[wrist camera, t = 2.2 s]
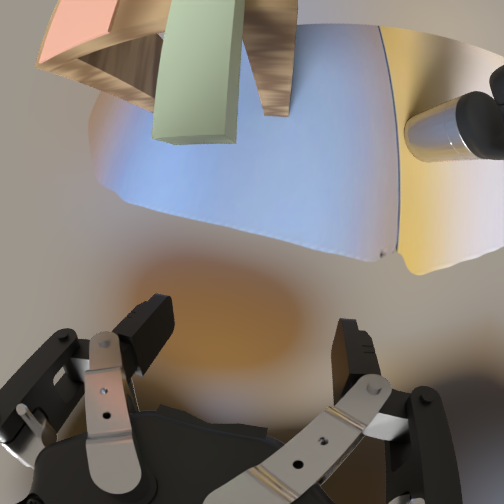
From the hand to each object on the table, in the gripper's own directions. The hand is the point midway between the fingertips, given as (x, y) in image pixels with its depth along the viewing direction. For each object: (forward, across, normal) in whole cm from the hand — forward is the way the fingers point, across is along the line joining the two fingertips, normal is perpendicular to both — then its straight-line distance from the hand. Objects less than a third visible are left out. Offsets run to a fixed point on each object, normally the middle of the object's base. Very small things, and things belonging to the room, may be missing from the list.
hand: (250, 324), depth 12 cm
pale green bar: (+5, +4, -18) cm, 19 cm away
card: (+5, +16, -22) cm, 28 cm away
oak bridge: (+37, +12, -19) cm, 43 cm away
